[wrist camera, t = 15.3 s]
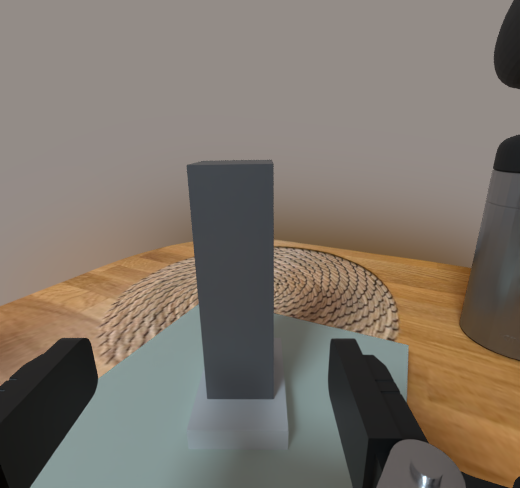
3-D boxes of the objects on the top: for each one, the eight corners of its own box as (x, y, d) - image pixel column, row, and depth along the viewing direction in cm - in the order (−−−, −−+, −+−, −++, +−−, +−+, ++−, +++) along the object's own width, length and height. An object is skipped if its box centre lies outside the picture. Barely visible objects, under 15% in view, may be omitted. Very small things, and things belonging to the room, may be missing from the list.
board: (209, 315, 37) (207, 297, 37) (404, 368, 28) (408, 345, 27) (1, 489, 19) (-11, 460, 18) (384, 819, 9) (393, 787, 9)
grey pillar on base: (288, 449, 18) (293, 166, 13) (188, 449, 18) (155, 168, 13) (281, 352, 27) (282, 158, 22) (213, 352, 27) (198, 159, 22)
